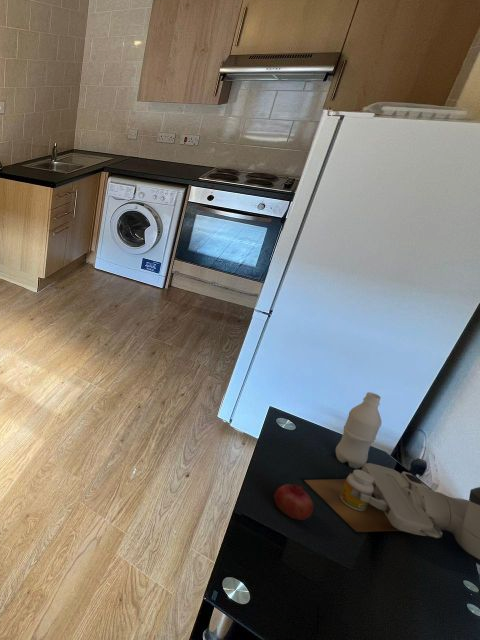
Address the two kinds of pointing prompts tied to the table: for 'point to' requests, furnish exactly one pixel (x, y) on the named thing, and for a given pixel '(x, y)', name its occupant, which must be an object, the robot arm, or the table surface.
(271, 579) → the table surface
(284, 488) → the fruit
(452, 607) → the table surface
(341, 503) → the cork mat
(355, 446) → the water bottle
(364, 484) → the supplement bottle
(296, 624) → the table surface
